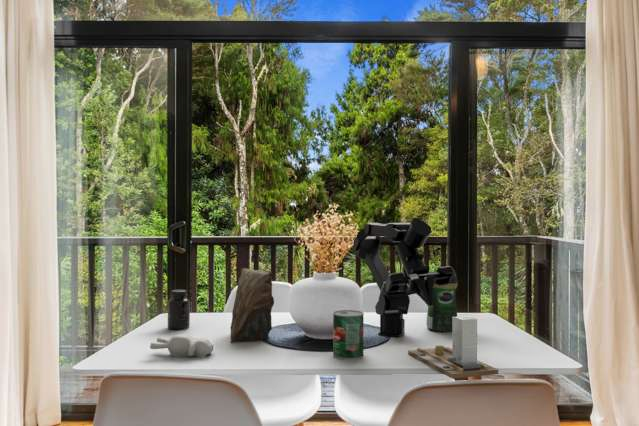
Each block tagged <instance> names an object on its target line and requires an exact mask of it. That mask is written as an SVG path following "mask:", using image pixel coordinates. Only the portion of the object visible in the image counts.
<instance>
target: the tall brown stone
mask: <svg viewBox="0 0 639 426" xmlns="http://www.w3.org/2000/svg"><path fill="white" fill-rule="evenodd" d="M240 273H241V274H240V276H239V278H238V283H237V289H236V293H235V298H234V302H233V306H232V307H233V308H232V311H231V312H232V313H231V315H232V316H231V317H232V319H231V323H230V343H231V344H233V343H249V342H250V343H251V342H265V340H266V341H269V340H268V339H269V338H270V332H271V331H272V329H273V328H272V310H273V306H274V305H275V299H274V296H273V280H272V278H273V272H272V271H268V270H267V269H261V270H259V269H255V270H254V269H251V268H246V267H243V268H241V270H240Z"/></svg>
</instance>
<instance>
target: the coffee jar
mask: <svg viewBox="0 0 639 426" xmlns="http://www.w3.org/2000/svg"><path fill="white" fill-rule="evenodd" d="M436 271H437V270H436ZM436 271H428V273H436ZM458 284H459V283H458V277H457V273H456V272H455V274H454V276H453V278H452V280H451V282H450V283H449V284H448V285H441V286H439V285H437V284H434V286H433V305H432V306H428V305H427V313H426V328H427V330H429V331H434V332H452V317H457V316H458V311H457V298H456V295H457V294H456V293H457V288H458Z"/></svg>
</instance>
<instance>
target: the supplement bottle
mask: <svg viewBox="0 0 639 426" xmlns="http://www.w3.org/2000/svg"><path fill="white" fill-rule="evenodd" d="M187 296H188V291H187V290H186V289H173V290H171V294H170V297H171V298H170V299H169V300H168V301H167V329H168V330H171V331H182V330H187V329H189V328H190V321H191V318H190V317H191V316H190V314H191V302H190V299H188V298H187Z"/></svg>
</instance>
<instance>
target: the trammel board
mask: <svg viewBox="0 0 639 426" xmlns="http://www.w3.org/2000/svg"><path fill="white" fill-rule="evenodd" d="M407 355H408V356H410V357H412V358H414V359H415V360H417V361H419V362H420V363H423V364H425V365H426V364H427V366H428V367H430V368H432V369H434V370H436V371H437V372H439V373H440V374H441V373H442V374H443V375H444V376H447V377H448V378H451V380H453V379H454V380H456V379H462V378H463V379H464V378H473V377H481V376H491V375H499V369H498V368H496V367H494V366H492V365H489V364H487V363H485V362H483V361H480V360H478V359H477V362H479V363H482V368H475V369H465V370H463V369H462V368H460V367H458V366H456V365H454V364H452V363H450V362H448V358H452V348H451V347H450V346H447V347H446V346H443V345H440V344H438V345H437V344H436V345H435V346H434V347H433V348H422V347H420V346H417V347H416V349H410V350H407Z"/></svg>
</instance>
